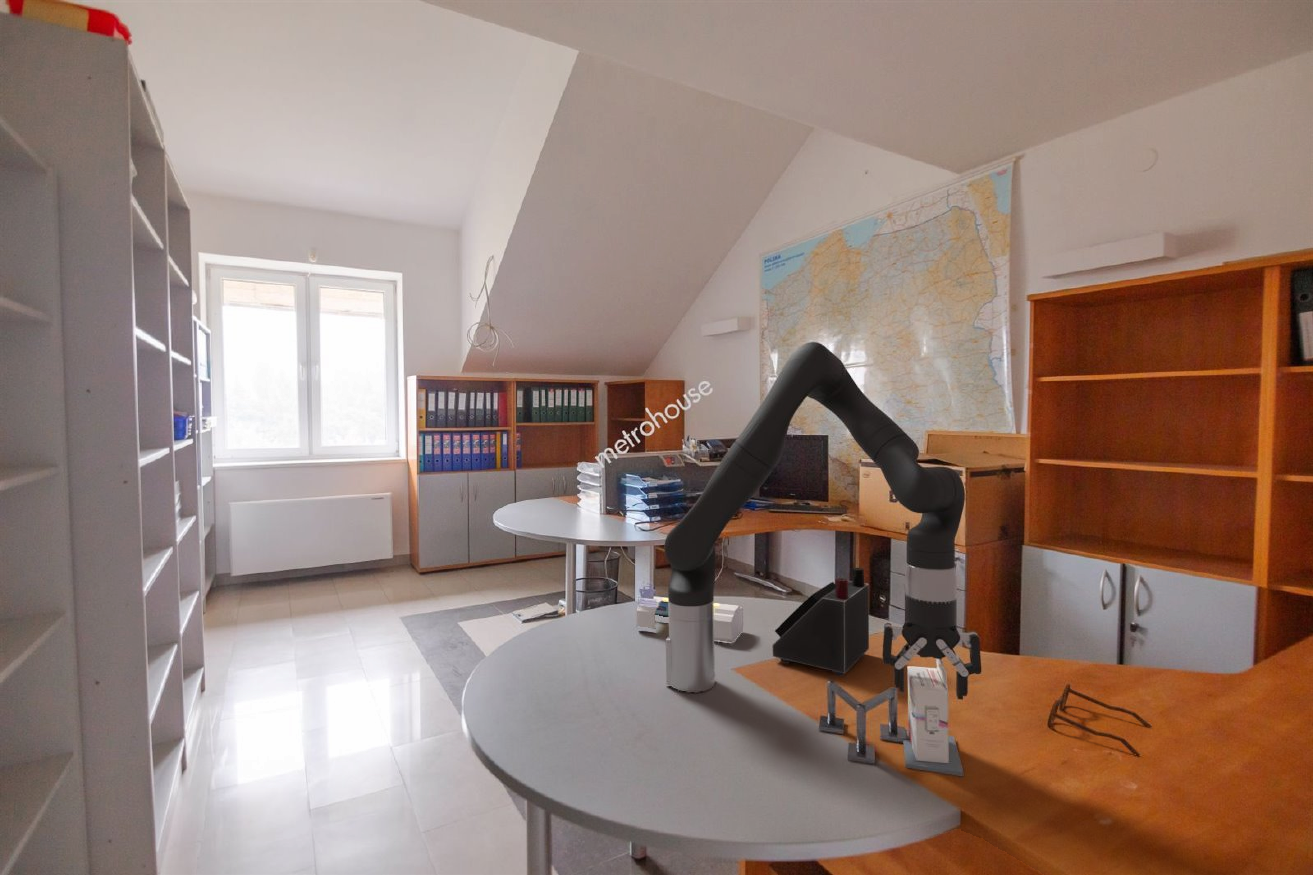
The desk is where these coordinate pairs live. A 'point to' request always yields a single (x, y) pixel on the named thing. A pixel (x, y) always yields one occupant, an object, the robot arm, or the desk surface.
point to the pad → (946, 768)
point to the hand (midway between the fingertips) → (930, 693)
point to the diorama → (725, 616)
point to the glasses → (1062, 703)
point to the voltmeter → (828, 627)
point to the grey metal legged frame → (862, 721)
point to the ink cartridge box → (928, 713)
